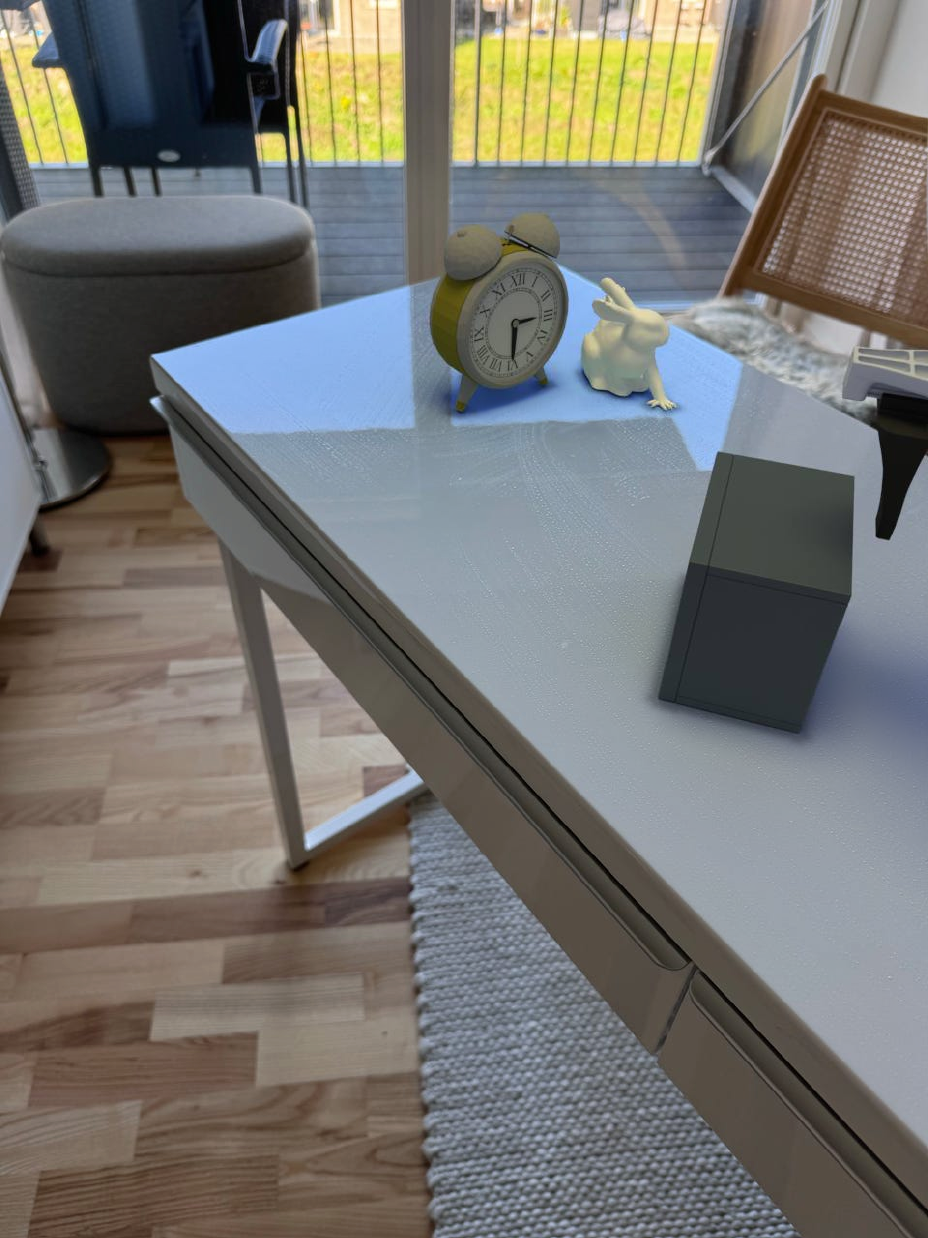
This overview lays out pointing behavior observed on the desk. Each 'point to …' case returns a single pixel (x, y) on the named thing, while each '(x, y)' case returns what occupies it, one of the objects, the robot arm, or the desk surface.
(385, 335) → the desk surface
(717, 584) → the dark grey storage bin
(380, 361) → the desk surface
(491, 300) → the alarm clock
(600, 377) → the rabbit figurine
